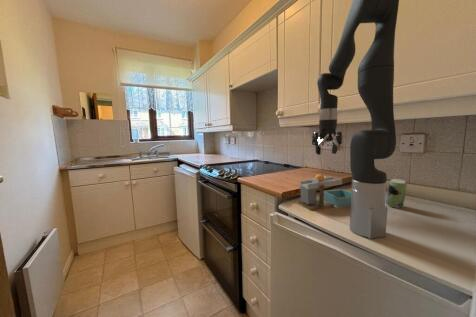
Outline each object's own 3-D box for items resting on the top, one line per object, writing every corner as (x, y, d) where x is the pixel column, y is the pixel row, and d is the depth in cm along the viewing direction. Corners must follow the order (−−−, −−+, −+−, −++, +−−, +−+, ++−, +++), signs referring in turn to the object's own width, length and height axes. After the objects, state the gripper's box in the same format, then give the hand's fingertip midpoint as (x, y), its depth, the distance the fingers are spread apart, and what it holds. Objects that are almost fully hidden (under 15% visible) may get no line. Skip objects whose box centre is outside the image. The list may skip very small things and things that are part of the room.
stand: (309, 210, 85) (310, 186, 84) (297, 202, 95) (298, 181, 93) (334, 207, 88) (335, 184, 86) (319, 199, 97) (320, 179, 96)
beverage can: (396, 203, 90) (399, 177, 88) (409, 210, 83) (411, 181, 81) (382, 203, 91) (383, 177, 89) (392, 209, 83) (395, 181, 82)
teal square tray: (360, 204, 90) (361, 196, 89) (338, 207, 87) (339, 198, 87) (341, 196, 101) (342, 189, 101) (321, 199, 98) (322, 191, 98)
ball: (327, 182, 89) (325, 173, 88) (319, 184, 88) (317, 176, 87) (321, 180, 93) (320, 172, 92) (313, 182, 92) (312, 174, 91)
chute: (308, 205, 86) (308, 182, 85) (295, 196, 97) (294, 177, 96) (342, 199, 90) (342, 177, 89) (325, 192, 101) (325, 172, 100)
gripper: (319, 118, 86) (318, 155, 89) (347, 118, 90) (345, 154, 92) (309, 119, 94) (308, 153, 96) (335, 119, 97) (333, 152, 99)
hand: (326, 153), depth 94 cm, fingers open, 8 cm apart
